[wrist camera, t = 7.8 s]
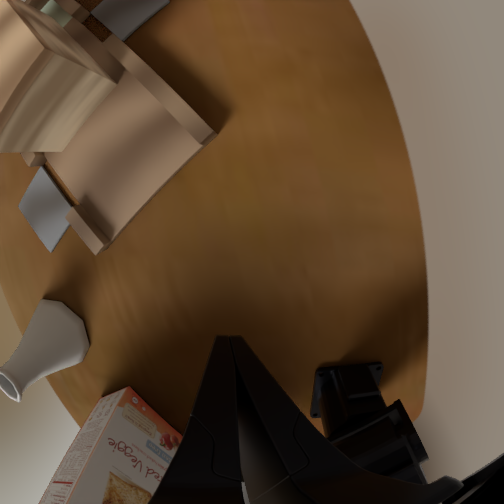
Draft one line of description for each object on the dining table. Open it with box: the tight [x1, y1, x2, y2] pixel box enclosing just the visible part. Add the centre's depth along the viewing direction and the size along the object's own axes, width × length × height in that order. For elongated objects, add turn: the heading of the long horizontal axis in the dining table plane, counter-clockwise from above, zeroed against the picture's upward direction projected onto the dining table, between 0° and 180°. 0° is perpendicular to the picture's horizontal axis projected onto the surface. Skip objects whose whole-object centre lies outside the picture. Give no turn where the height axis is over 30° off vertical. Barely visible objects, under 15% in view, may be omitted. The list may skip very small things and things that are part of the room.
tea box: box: [0, 0, 118, 153], centre depth 12 cm, size 13×7×9 cm, turn 41°
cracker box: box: [39, 386, 183, 504], centre depth 17 cm, size 14×6×21 cm, turn 33°
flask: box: [0, 299, 90, 402], centre depth 19 cm, size 7×7×10 cm
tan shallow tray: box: [18, 0, 217, 255], centre depth 16 cm, size 26×22×3 cm
